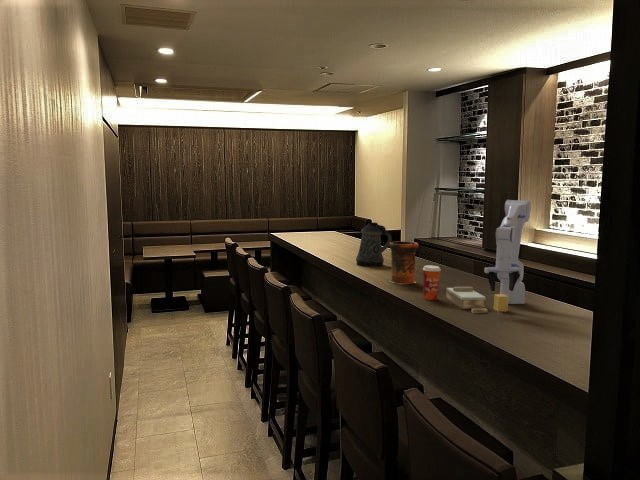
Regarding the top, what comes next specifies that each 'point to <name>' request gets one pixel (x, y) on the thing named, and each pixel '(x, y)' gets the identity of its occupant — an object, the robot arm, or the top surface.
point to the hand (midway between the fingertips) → (501, 290)
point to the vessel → (403, 261)
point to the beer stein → (372, 245)
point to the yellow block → (500, 302)
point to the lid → (466, 293)
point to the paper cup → (431, 282)
